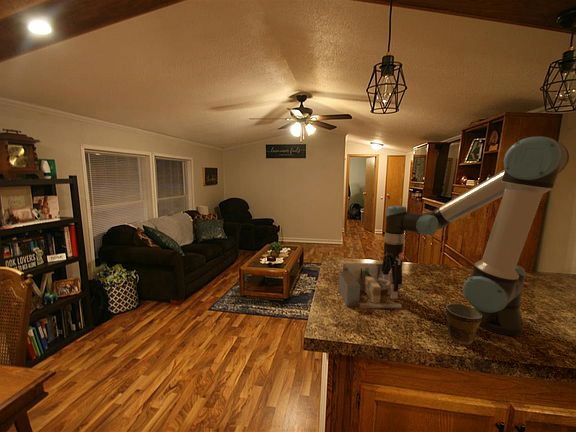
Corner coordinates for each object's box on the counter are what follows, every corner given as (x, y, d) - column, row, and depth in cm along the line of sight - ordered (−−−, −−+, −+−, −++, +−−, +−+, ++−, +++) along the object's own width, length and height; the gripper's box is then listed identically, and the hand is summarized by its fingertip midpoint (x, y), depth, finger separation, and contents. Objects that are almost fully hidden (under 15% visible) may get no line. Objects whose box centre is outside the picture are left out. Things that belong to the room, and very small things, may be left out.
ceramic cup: (484, 342, 88) (488, 313, 87) (467, 352, 84) (471, 321, 82) (444, 323, 100) (448, 297, 98) (428, 330, 95) (431, 303, 93)
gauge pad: (379, 303, 113) (381, 287, 112) (372, 302, 113) (373, 287, 112) (368, 287, 128) (369, 273, 127) (361, 287, 128) (362, 273, 127)
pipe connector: (398, 301, 112) (400, 278, 110) (374, 294, 118) (375, 272, 116) (404, 293, 119) (406, 271, 118) (381, 287, 125) (383, 266, 124)
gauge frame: (401, 308, 110) (404, 280, 108) (347, 307, 109) (348, 279, 108) (383, 287, 130) (385, 263, 128) (337, 287, 129) (338, 262, 127)
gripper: (414, 249, 104) (409, 305, 108) (392, 236, 126) (388, 283, 129) (395, 249, 104) (390, 304, 108) (376, 236, 125) (372, 283, 129)
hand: (389, 293), depth 118 cm, fingers closed on pipe connector, 9 cm apart
